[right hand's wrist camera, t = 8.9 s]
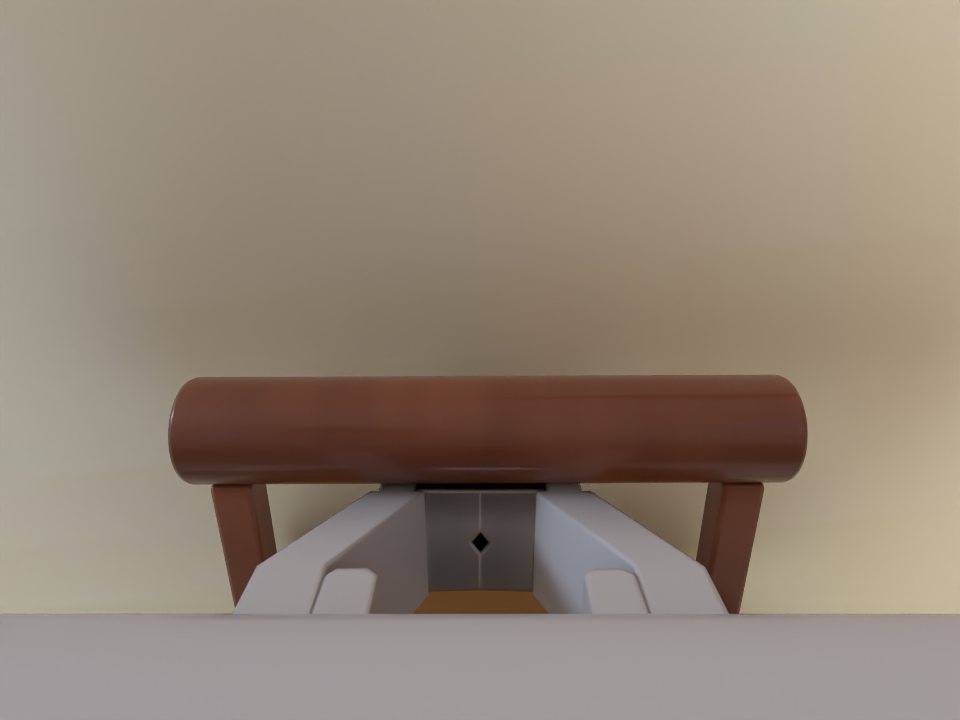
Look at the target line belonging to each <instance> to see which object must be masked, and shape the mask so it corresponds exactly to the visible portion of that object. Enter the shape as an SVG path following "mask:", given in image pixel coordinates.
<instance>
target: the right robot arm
mask: <svg viewBox="0 0 960 720" xmlns="http://www.w3.org/2000/svg"><path fill="white" fill-rule="evenodd" d="M475 590H484V591H521V592H533V595H534V597H535V598H536V599H537V600H538V601H539V603H540V604H541V605H542V606H543V608H544V609H545V610H546V611H547V612H548V614H413V613H414V612H415V610H416V609H417V608H418V607H419V606H420V604H421V603H422V602H423V601H424V599H425V598H426V597H427V596H428V592H440V591H475ZM0 720H960V614H729V613H728V611H727V609H726V607H725V605H724V603H723V601H722V599H721V597H720V595H719V593H718V591H717V589H716V587H715V585H714V583H713V581H712V580H711V578H710V576H709V574H708V572H707V570H706V568H705V567H704V566H703V565H701V564H700V563H698V562H697V561H695V560H694V559H692V558H691V557H689V556H688V555H686V554H685V553H683V552H682V551H680V550H679V549H677V548H676V547H674V546H673V545H671V544H670V543H668V542H667V541H665V540H663V539H662V538H660V537H659V536H657V535H656V534H654V533H653V532H651V531H650V530H648V529H647V528H645V527H644V526H642V525H641V524H639V523H638V522H636V521H635V520H633V519H632V518H630V517H629V516H627V515H626V514H624V513H622V512H621V511H619V510H618V509H616V508H615V507H613V506H612V505H610V504H609V503H607V502H606V501H604V500H603V499H601V498H600V497H598V496H597V495H595V494H594V493H592V492H591V491H582V489H581V486H580V483H434V484H381V485H380V489H379V491H370V492H369V493H367V494H366V495H364V496H363V497H361V498H360V499H358V500H357V501H355V502H354V503H352V504H351V505H349V506H348V507H346V508H345V509H343V510H341V511H340V512H338V513H337V514H335V515H334V516H332V517H331V518H329V519H328V520H326V521H325V522H323V523H322V524H320V525H319V526H317V527H316V528H314V529H313V530H311V531H309V532H308V533H306V534H305V535H303V536H302V537H300V538H299V539H297V540H296V541H294V542H293V543H291V544H290V545H288V546H287V547H285V548H284V549H282V550H281V551H279V552H278V553H276V554H274V555H273V556H271V557H270V558H268V559H267V560H265V561H264V562H262V563H261V564H259V565H258V566H257V567H256V569H255V571H254V573H253V575H252V577H251V578H250V580H249V582H248V584H247V586H246V588H245V590H244V592H243V594H242V596H241V598H240V600H239V602H238V604H237V606H236V608H235V610H234V612H233V614H0Z"/></svg>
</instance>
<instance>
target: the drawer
mask: <svg viewBox="0 0 960 720" xmlns="http://www.w3.org/2000/svg"><path fill="white" fill-rule="evenodd" d="M168 444H169V452H170V457H171V461H172V464H173V467H174V469H175V471H176V473H177V474H178V476H179V477H180V478H181V479H182V480H184V481H185V482H187V483H190V484H213V485H212V488H211V493H212V498H213V503H214V508H215V512H216V517H217V522H218V527H219V532H220V537H221V542H222V547H223V552H224V556H225V561H226V566H227V571H228V576H229V581H230V586H231V591H232V596H233V600H234V605H235V608H236V606H237V604H238V602H239V600H240V598H241V596H242V594H243V592H244V590H245V588H246V586H247V584H248V582H249V580H250V578H251V577H252V575H253V573H254V571H255V569H256V567H257V566H258V565H259V564H261V563H262V562H264V561H265V560H267V559H268V558H270V557H271V556H273V555H274V554H276V553H277V550H276V544H275V538H274V532H273V526H272V519H271V513H270V507H269V501H268V495H267V489H266V484H434V483H708V489H707V495H706V501H705V507H704V514H703V520H702V526H701V532H700V539H699V545H698V551H697V557H696V561H697V562H698V563H700V564H701V565H703V566H704V567H705V568H706V570H707V572H708V574H709V576H710V578H711V580H712V581H713V583H714V585H715V587H716V589H717V591H718V593H719V595H720V597H721V599H722V601H723V603H724V605H725V607H726V609H727V611H728V613H729V614H739V611H740V606H741V601H742V596H743V591H744V586H745V581H746V576H747V571H748V566H749V561H750V556H751V551H752V546H753V541H754V536H755V531H756V527H757V522H758V517H759V512H760V507H761V502H762V497H763V492H764V485H763V483H762V482H786V481H788V480H790V479H792V478H793V477H795V476H796V475H797V473H798V472H799V470H800V469H801V467H802V464H803V462H804V458H805V454H806V449H807V421H806V415H805V410H804V406H803V403H802V400H801V398H800V396H799V394H798V392H797V390H796V388H795V387H794V386H793V384H792V383H791V382H790V381H789V380H787V379H786V378H783V377H781V376H779V375H628V376H398V377H199V378H195V379H192V380H190V381H188V382H187V383H186V384H185V385H184V386H183V387H182V388H181V389H180V391H179V393H178V394H177V396H176V399H175V401H174V404H173V407H172V410H171V414H170V420H169V429H168ZM413 614H548V612H547V611H546V610H545V609H544V608H543V606H542V605H541V604H540V603H539V601H538V600H537V599H536V598H535V597H534V595H533V592H521V591H484V590H475V591H440V592H428V596H427V597H426V598H425V599H424V601H423V602H422V603H421V604H420V606H419V607H418V608H417V609H416V610H415V612H414V613H413Z"/></svg>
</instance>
